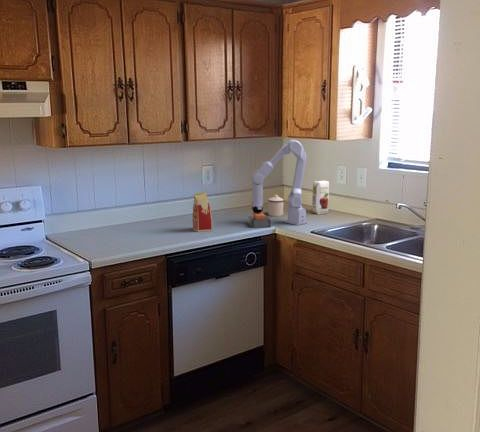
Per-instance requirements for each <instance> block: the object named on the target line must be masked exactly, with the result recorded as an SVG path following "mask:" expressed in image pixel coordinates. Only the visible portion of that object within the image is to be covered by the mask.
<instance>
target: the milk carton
mask: <svg viewBox="0 0 480 432" xmlns="http://www.w3.org/2000/svg"><path fill="white" fill-rule="evenodd" d="M192 195H193V197H194V199H193V204H192V206H193V207H192V229H193V231H195V232H198V233H199V232H212V231H213V217H212V210H211V206H210V201H209V197H208V194H207V190H206V189H205V190H203V191H201V192H198V193H193V194H192Z"/></svg>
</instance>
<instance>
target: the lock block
mask: <svg viewBox="0 0 480 432" xmlns="http://www.w3.org/2000/svg"><path fill="white" fill-rule="evenodd" d="M265 216H266V215H265V214H264V212H261V213H254V212H253V213H252V218H253V219H254V220H260V219H265Z"/></svg>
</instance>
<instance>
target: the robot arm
mask: <svg viewBox="0 0 480 432" xmlns="http://www.w3.org/2000/svg"><path fill="white" fill-rule="evenodd" d="M291 153H292V154H293V155H294V157H295V158H296V163H295V169H294V176H293V181H292V187H291V190H290V193H289V195H288V196H287V197H288V198H287V200H288V202H289V203H288V205H287V220H285V221H284V223H286V224H290V225H295V226H301V225H304V224H307V223H308V222H307V211H306V208H304V207H303V206H302V203H303V199H302V195H303V194H302V189H303V188H302V187H303V181H304V177H305V176H304V175H305V172H306V171H305V169H306V164H307V158H308V156H307V153H306V151H305V149H304V145H303V144H301V142H300V141H299V140H296V139H290V140H288V141H287V143H285V144H283V145H282V146H281V148H280V149H278V151H276V153H275V154H274V155H273V156H272V158H271V159H270V160H269V161H265V162H262V163H261V166H260V167H258V169H256V170H255V172H254V173H253V174H252V176H251V181H252V183H251V184H252V186H251V203H249V206H251V209H252V212H253V213H263V211H264V210H263V209H264V207H263V205H264V189H263V188H264V186H263V183H264V181H265V178H267V177H268V176H269V174H271V173H272V172H273V170H274V169H275V165H276V164H277V163H278V162H279V161H280V160H281V159H282V158H284V156H286V155H289V154H291Z"/></svg>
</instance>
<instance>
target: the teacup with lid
mask: <svg viewBox="0 0 480 432" xmlns="http://www.w3.org/2000/svg"><path fill="white" fill-rule="evenodd" d="M267 201H268V211H267V212H268V213H267V214H268V216H270V217H282V216H283V215H284V205H285V204H284V201H285V200H284V198H282V197H280V196H279V195H278V194H274V196H272V197H270V198H268V200H267Z"/></svg>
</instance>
